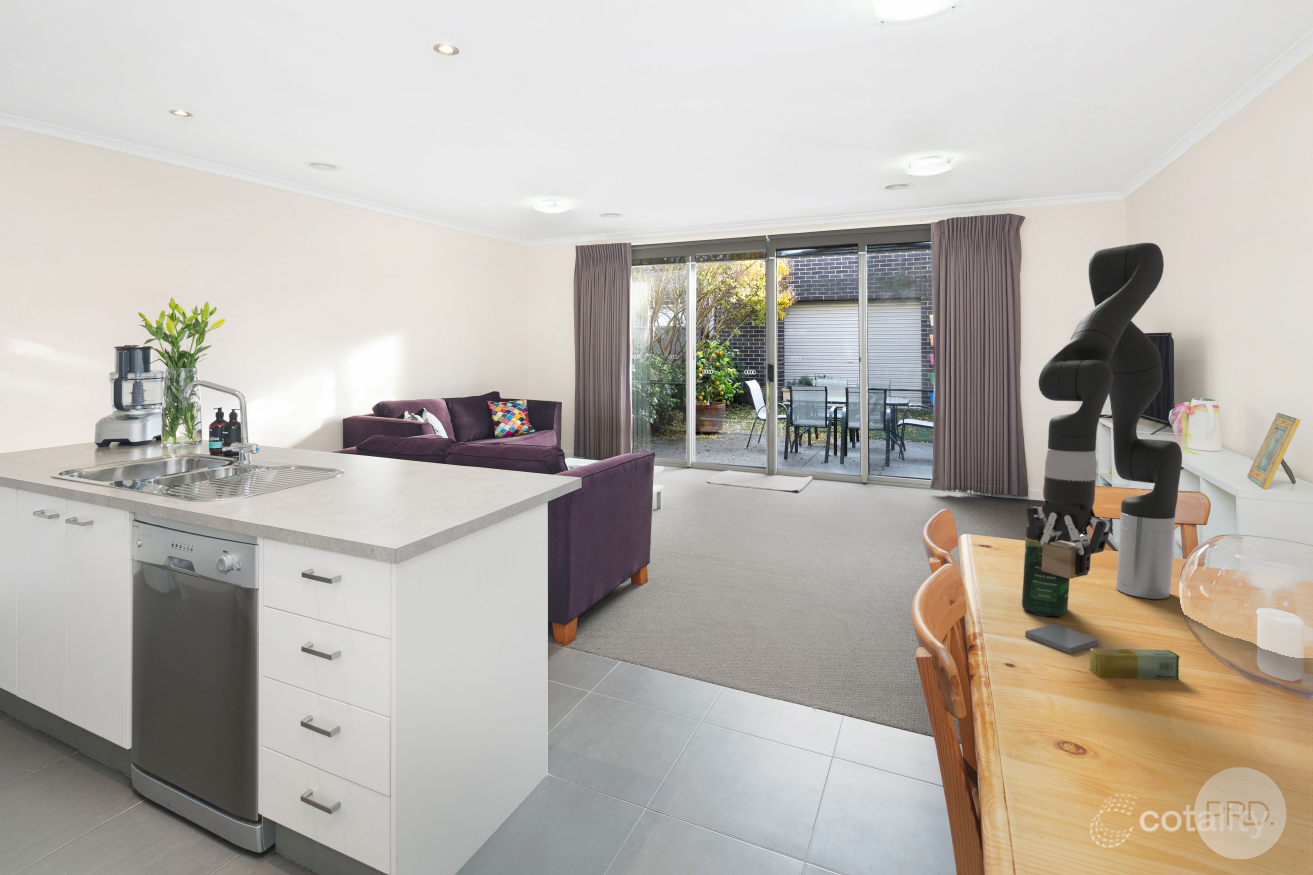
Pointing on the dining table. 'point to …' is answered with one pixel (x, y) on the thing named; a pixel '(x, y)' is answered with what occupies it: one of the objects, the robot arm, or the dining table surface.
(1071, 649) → the pad
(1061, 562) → the cube
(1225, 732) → the dining table surface
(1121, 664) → the medication box
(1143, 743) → the dining table surface
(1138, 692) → the dining table surface
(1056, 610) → the coffee jar
